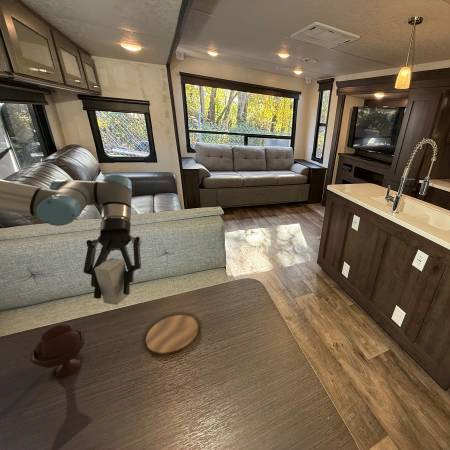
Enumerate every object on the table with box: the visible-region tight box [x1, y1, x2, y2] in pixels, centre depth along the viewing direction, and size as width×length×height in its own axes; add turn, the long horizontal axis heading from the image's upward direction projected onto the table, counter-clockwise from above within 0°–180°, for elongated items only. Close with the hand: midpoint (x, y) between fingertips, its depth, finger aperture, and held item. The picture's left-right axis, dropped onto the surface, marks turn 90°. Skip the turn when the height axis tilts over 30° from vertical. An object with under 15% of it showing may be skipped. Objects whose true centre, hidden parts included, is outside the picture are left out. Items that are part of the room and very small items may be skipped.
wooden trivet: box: [145, 314, 199, 355], centre depth 85 cm, size 16×16×1 cm
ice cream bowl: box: [30, 322, 86, 379], centre depth 68 cm, size 11×11×15 cm
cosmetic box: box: [94, 257, 132, 306], centre depth 72 cm, size 6×4×12 cm
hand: (112, 295), depth 70 cm, fingers closed on cosmetic box, 6 cm apart
